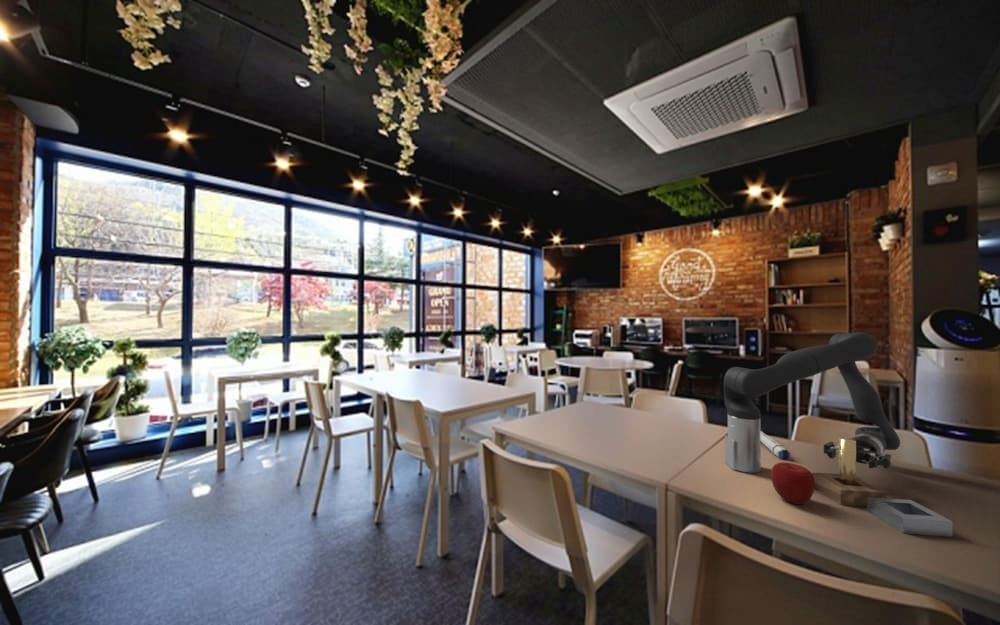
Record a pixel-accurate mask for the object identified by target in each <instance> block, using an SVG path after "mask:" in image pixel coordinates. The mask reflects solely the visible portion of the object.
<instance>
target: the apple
mask: <svg viewBox="0 0 1000 625" xmlns="http://www.w3.org/2000/svg"><path fill="white" fill-rule="evenodd" d="M770 477H771V478H770V479H771V482H772V486H773V488H774V489H775V491H776V493H777V495H779V497H781V498H782V499H783V500H785V501H787V502H789V503H791V504H795V505H804V504H806V503H807V502H809V501H810V499H812V496H813V494H814V491H815V489H816V488H815V480H814V476H813V475H812V471H810V470H809V469H808V468H806V467H804V466H802V465H799V464H795V463H792V462H778V463H775V464H774V465H773V467H772V468H771V471H770Z"/></svg>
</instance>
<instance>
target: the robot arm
mask: <svg viewBox="0 0 1000 625" xmlns="http://www.w3.org/2000/svg"><path fill="white" fill-rule="evenodd" d="M878 348H879V343H878V340H877V339H876V338H875V337H874V336H873V335H871V334H869V333H866V332H859V331H858V332H845V333H837V334H834V335H832V336H831V338H830V339H829V341H828V344H824V345H823V344H822V345H816V346H810V347H809V346H808V347H805V348H800V349H797V350H794V351H791V352H787V353H785V354H784V355H781V356H780V358H778V359H777V361H776V363H774V364H772V365H770V366H767V367H763V368H759V369H751V368H745V367H740V366H733V367H730V368H728V370H727V371H726V372H725V374H724V377H723V394H724V395H723V396H724V405H725V407H726V410H727V435H725V436H724V461H725V462H724V463H725V464H726V465H727V466H728V467H730V469H731V470H734V471H739V472H742V473H743V472H744V473H750V474H754V473H760V472H761V466H762V463H761V460H762V458H761V457H762V456H761V454H762V453H761V452H762V451H761V445H762V444H761V441H760V431H761V410H760V408H759V407H758V406H756V405H755V404H754V402H753V400H752V398H753V399H754V398H759V397H761V396H763V395H765V394H767V393H769V392H772V391H774V390H776V389H778V388H780V387H783V386H785V385H789V384H791V383H795V382H799V381H801V380H804V379H808V378H810V377H813V376H815V375H818V374H821V373H823V372H827V371H829V370H831V369H834V368H836V367H837V368H838V370H839V373H840V375H841V377H842V379H843V380H844V383H845V385H846V388H847V389H848V392H849V394H850V398H851V402H852V405H853V410H854V411H855V415H856V417H857V419H858V420H860V421H863V422H869V423H872V424H875V425H876V426H877V427H875V426H873V427H872V426H860V427H857V428H856V429H855V432H854V433H855V434H854V436H853V437H851V438H850V439H854V440H856V463H859V464H864V465H868V469H874V468H877V469H878V467H880V466H882V467H883V468H885V469H890V468H891V466H892V455H891V454H888V453H885V454H883V453H884V452H885V451H886V450H887V451H896V450H898V448H900V445H901V440H900V437H899V435H898V433H897V432H896V431H895V429H894V427H893V426H892V425H891V424H890V422H889V420H888V417H887V416H886V414H885V411H884V408H883V404H882V401H881V398H880V395H879V393H878V392H877V390H876V389H875V388H874V387H873V385H872V384H871V383H870V382H869V381H868V380H867V379H866V377H864V375H863V374H862V373H861V371H860V369H859V368H858V366H857V363H856V362H857V361H863V360H867V359H870V358H871V357H873V356H875V354H876V353H877V351H878ZM823 454H825V455H826V456H827V457H828V458H829V459H830V460H831V459H834V458H836V457H839V444H838V445H836V444H835V442H833V441H829V442H827V443H824V444H823Z"/></svg>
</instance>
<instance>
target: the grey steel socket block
mask: <svg viewBox="0 0 1000 625" xmlns="http://www.w3.org/2000/svg"><path fill="white" fill-rule="evenodd" d="M866 511H867V512H868V513H870V514H872V515H873V516H876V517H877V518H878V519H880V520H882V521H883V522H884V523H886V524H888V525H890V526H891V527H892V528H894V529H896V530H897V531H899V532H900V533H902V534H910V535H924V536H938V537H950V538H951V537H952V538H953V530H954V529H953V527H954V525H953V521H952V520H951V519H948V518H947V517H945V516H943V515H941V514H939V513H937V512H936V511H933V510H931V509H930V508H927V507H926V506H923V505H922V504H919V503H918V502H915V501H914V500H912V499H901V498H888V497H887V498H871V497H867V506H866Z"/></svg>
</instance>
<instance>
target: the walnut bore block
mask: <svg viewBox="0 0 1000 625" xmlns="http://www.w3.org/2000/svg"><path fill="white" fill-rule="evenodd" d="M811 473H812V475H813V476H814V480H815V489H816V490H818V491H820V493H823V494H824V495H826V496H827V497H828V498H830V499H832V500H833V501H834V502H836V503H838V504H839V505H840V506H844V505H845V506H857V507H858V506H859V507H860V506H861V507H867V497H871V498H887V499H888V496H887V495H888V492H887V491H886V490H883V489H881V488H880V487H878V486H876V485H874V484H871V483H870V482H868V481H866V480H864V479H863V478H861V477H859V476H857V475H856V486H849V485H843V484H842V483H840V482H839V473H830V472H829V473H828V472H812V471H811Z"/></svg>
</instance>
